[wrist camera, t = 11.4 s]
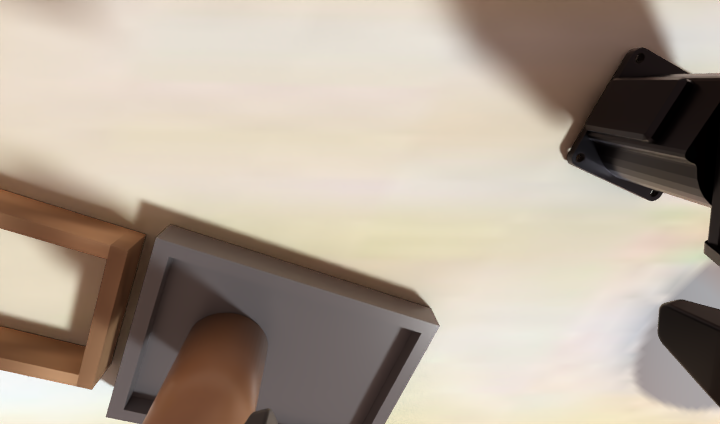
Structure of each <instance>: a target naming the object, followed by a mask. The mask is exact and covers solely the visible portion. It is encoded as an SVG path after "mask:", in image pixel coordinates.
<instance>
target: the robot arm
mask: <svg viewBox="0 0 720 424" xmlns="http://www.w3.org/2000/svg"><path fill="white" fill-rule="evenodd" d="M637 55H638V61H637V62H635V58H636V56H637ZM578 154H580V157H579V159H578V160H576V156H577V155H578ZM567 161H568V163H569V164H571V165H573V166H575V167H577V168H579V169H581V170H583V171H586V172H588V173H590V174H592V175H594V176H596V177H599V178H601V179H603V180H605V181H607V182H609V183H611V184H614V185H616V186H618V187H620V188H622V189H624V190H627V191H629V192H631V193H633V194H635V195H637V196H639V197H642V198H644V199H647V200H649V201H654V200H657V199H658V198H659V197H660V196H661V195H662V193H663V192H664V193H667V194H670V195H673V196H676V197H679V198H682V199H685V200H688V201H692V202H695V203H698V204H701V205H704V206H707V207H710V208H711V215H710V225H709V235H708V240H707V241H705V245H704V254H706V255H707V256H708V257H709V258H710V259H711V260H713V261H714V262H715V263H716V264H717V265H718V266H720V73H706V74H689V73H687V72H685V71H683V70H682V69H680V68H678V67H677V66H675V65H673V64H672V63H670V62H668V61H666V60H665V59H663V58H661V57H660V56H658V55H656V54H654V53H653V52H651V51H649V50H648V49H646V48H635V49H632V50H630V51H629V52H628V53H627V54H626V56H625V58H624V60H623V61H622V63H621V65H620V66H619V68H618V70H617V71H616V73H615V75H614V77H613V78H612V80H611V81H610V82H609V84H608V86H607V87H606V89H605V91H604V93H603V94H602V96H601V98H600V99H599V101H598V103H597V104H596V106H595V108H594V110H593V111H592V113H591V115H590V116H589V118H588V120H587V121H586V123H585V126H584V128H583V129H582V131H581V133H580V134H579V136H578V138H577V140H576V141H575V143H574V145H573V146H572V148H571V150H570V151H569V153H568V156H567ZM652 190H653V191H652ZM651 191H652V193H651ZM650 193H651V194H650ZM658 336H659V339H660V341H661V342H662V344H663V345H664V346H665V347H666V348H667V349H668V350H669V352H670V353H671V354H672V355H673V356H674V357H675V358H676V359H677V360H678V362H679V363H680V364H681V365H682V366H683V367H684V368H685V369H686V370H687V372H688V373H689V374H690V375H691V376H692V377H693V378H694V380H695V381H696V382H697V383H698V384H699V385H700V386H701V387H702V388H703V390H704V391H705V392H706V393H707V394H708V395H709V396H710V397H711V398H712V399H713V401H714V402H715V403H716V404H717V405H718V406H719V407H720V310H719V309H716V308H712V307H708V306H705V305H701V304H697V303H693V302H689V301H686V300H674V301H670V302H667V303H663V304H662V305H661V306H660V308H659V318H658ZM244 424H278V422H277V420H276V418H275V415H274V413H273V411H272V410H271V409H270V408H266V409H263V410H259V411H255V412H253V413H252V414H251V415H250V416H249V417H248V419H247V420H246V422H245V423H244Z"/></svg>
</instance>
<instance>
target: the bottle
mask: <svg viewBox="0 0 720 424" xmlns="http://www.w3.org/2000/svg"><path fill="white" fill-rule="evenodd" d="M267 350H268V342H267V338H266V335H265V333H264V331H263V330H262V329H261V327H260V326H259V325H258V324H256V323H255V322H254V321H252V320H251V319H249V318H247V317H245V316H242V315H239V314H234V313H217V314H213V315H210V316H207V317H205V318H203V319H201V320H200V321H198V322H197V323H196V324H195V325H194V326H193V327H192V329H191V330H190V332H189V334H188V336H187V338H186V340H185V342H184V344H183V345H182V347H181V349H180V351H179V353H178V355H177V357H176V359H175V361H174V363H173V365H172V367H171V369H170V371H169V373H168V375H167V377H166V379H165V380H164V382H163V384H162V386H161V388H160V390H159V392H158V394H157V396H156V398H155V400H154V402H153V404H152V406H151V408H150V410H149V412H148V414H147V415H146V417H145V419H144V421H143V423H142V424H244V423H245V422H246V420H247V419H248V417H249V416H250V415H251V414H252V413H253V412H255V411H256V406H257V401H258V396H259V391H260V386H261V381H262V376H263V371H264V366H265V361H266V355H267Z"/></svg>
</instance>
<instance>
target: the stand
mask: <svg viewBox="0 0 720 424" xmlns="http://www.w3.org/2000/svg"><path fill="white" fill-rule="evenodd" d="M0 228H1V229H4V230H8V231H11V232H15V233H18V234H22V235H25V236H29V237H32V238H35V239H39V240H42V241H46V242H49V243H53V244H56V245H60V246H63V247H66V248H70V249H73V250H77V251H80V252H84V253H87V254H90V255H94V256H97V257H101V258H104V259H107V261H106V265H105V270H104V274H103V278H102V282H101V286H100V290H99V294H98V298H97V303H96V307H95V311H94V315H93V319H92V323H91V327H90V331H89V335H88V340H87V344H86V346H81V345H77V344H73V343H69V342H65V341H61V340H56V339H52V338H48V337H44V336H40V335H35V334H31V333H27V332H23V331H19V330H15V329H10V328H6V327H2V326H0V370H3V371H8V372H13V373H17V374H22V375H26V376H31V377H36V378H40V379H45V380H50V381H54V382H59V383H64V384H68V385H73V386H77V387H82V388H87V389H91V390H92V389H93V387H94V386H95V385H96V383H97V382H98V381H99V379H100V378H101V377H102V375H103V374H104V373H105V371H106V370H107V369H108V367H109V366H110V364H111V362H112V359H113V355H114V351H115V348H116V344H117V340H118V336H119V333H120V329H121V325H122V322H123V318H124V314H125V311H126V307H127V303H128V299H129V296H130V292H131V288H132V285H133V281H134V277H135V274H136V270H137V266H138V263H139V259H140V255H141V251H142V248H143V244H144V240H145V237H146V234H143V233H140V232H137V231H134V230H130V229H127V228H124V227H121V226H117V225H114V224H111V223H108V222H105V221H101V220H98V219H95V218H92V217H89V216H85V215H82V214H79V213H76V212H73V211H69V210H66V209H63V208H60V207H56V206H53V205H50V204H47V203H44V202H40V201H37V200H34V199H31V198H28V197H24V196H21V195H18V194H15V193H12V192H8V191H5V190H2V189H0Z"/></svg>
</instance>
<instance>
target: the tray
mask: <svg viewBox="0 0 720 424" xmlns="http://www.w3.org/2000/svg"><path fill="white" fill-rule="evenodd" d="M217 313H234V314H239V315H242V316H245V317H247V318H249V319H251V320H252V321H254V322H255V323H256V324H258V325H259V326H260V327H261V329H262V330H263V331H264V333H265V335H266V338H267V342H268V350H267V355H266V361H265V366H264V371H263V376H262V381H261V386H260V391H259V396H258V401H257V406H256V411H259V410H263V409H266V408H270V409H271V410H272V411H273V413H274V415H275V418H276V420H277V422H278V424H385V422H386V421H387V419H388V417H389V415H390V413H391V412H392V410H393V408H394V406H395V405H396V403H397V401H398V399H399V397H400V396H401V394H402V392H403V390H404V389H405V387H406V385H407V383H408V381H409V380H410V378H411V376H412V374H413V373H414V371H415V369H416V367H417V365H418V364H419V362H420V360H421V358H422V357H423V355H424V353H425V351H426V349H427V348H428V346H429V344H430V342H431V341H432V339H433V337H434V335H435V333H436V332H437V330H438V328H439V324H438V322H437V320H436V318H435V316H434V313H433V311H432V309H431V308H428V307H425V306H422V305H419V304H416V303H413V302H410V301H407V300H404V299H401V298H397V297H394V296H391V295H388V294H385V293H382V292H379V291H376V290H373V289H369V288H366V287H363V286H360V285H357V284H354V283H351V282H348V281H345V280H341V279H338V278H335V277H332V276H329V275H326V274H323V273H320V272H317V271H313V270H310V269H307V268H304V267H301V266H298V265H295V264H292V263H289V262H285V261H282V260H279V259H276V258H273V257H270V256H267V255H264V254H261V253H258V252H254V251H251V250H248V249H245V248H242V247H239V246H236V245H233V244H230V243H226V242H223V241H220V240H217V239H214V238H211V237H208V236H205V235H202V234H198V233H195V232H192V231H189V230H186V229H183V228H180V227H177V226H174V225H169V226H168V227H167V228H166V229H165V230H164V231H162V232H161V233H160V234H159V235H158V236H157V237H156V239H155V243H154V247H153V250H152V254H151V257H150V261H149V264H148V268H147V272H146V275H145V279H144V282H143V286H142V289H141V293H140V297H139V300H138V304H137V307H136V311H135V314H134V318H133V322H132V325H131V329H130V332H129V336H128V339H127V343H126V347H125V350H124V354H123V357H122V361H121V364H120V368H119V372H118V375H117V379H116V382H115V386H114V390H113V393H112V397H111V400H110V404H109V407H108V411H107V415H106V417H108V418H113V419H118V420H123V421H128V422H133V423H138V424H142V423H143V421H144V419H145V417H146V415H147V414H148V412H149V410H150V408H151V406H152V404H153V402H154V400H155V398H156V396H157V394H158V392H159V390H160V388H161V386H162V384H163V382H164V380H165V379H166V377H167V375H168V373H169V371H170V369H171V367H172V365H173V363H174V361H175V359H176V357H177V355H178V353H179V351H180V349H181V347H182V345H183V344H184V342H185V340H186V338H187V336H188V334H189V332H190V330H191V329H192V327H193V326H194V325H195V324H196V323H197V322H198V321H200V320H201V319H203V318H205V317H207V316H210V315H213V314H217Z"/></svg>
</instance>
